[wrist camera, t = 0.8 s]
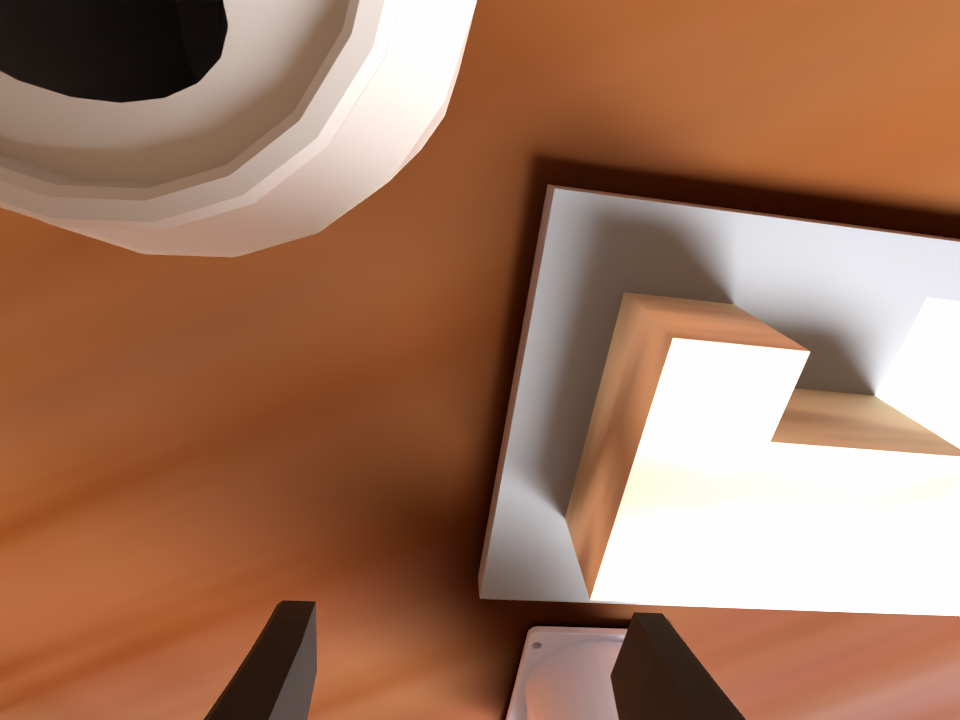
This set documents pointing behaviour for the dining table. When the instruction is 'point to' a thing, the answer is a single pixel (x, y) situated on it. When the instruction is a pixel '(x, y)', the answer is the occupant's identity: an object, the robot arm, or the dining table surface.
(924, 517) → the block
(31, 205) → the can
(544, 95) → the dining table surface
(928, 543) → the board
